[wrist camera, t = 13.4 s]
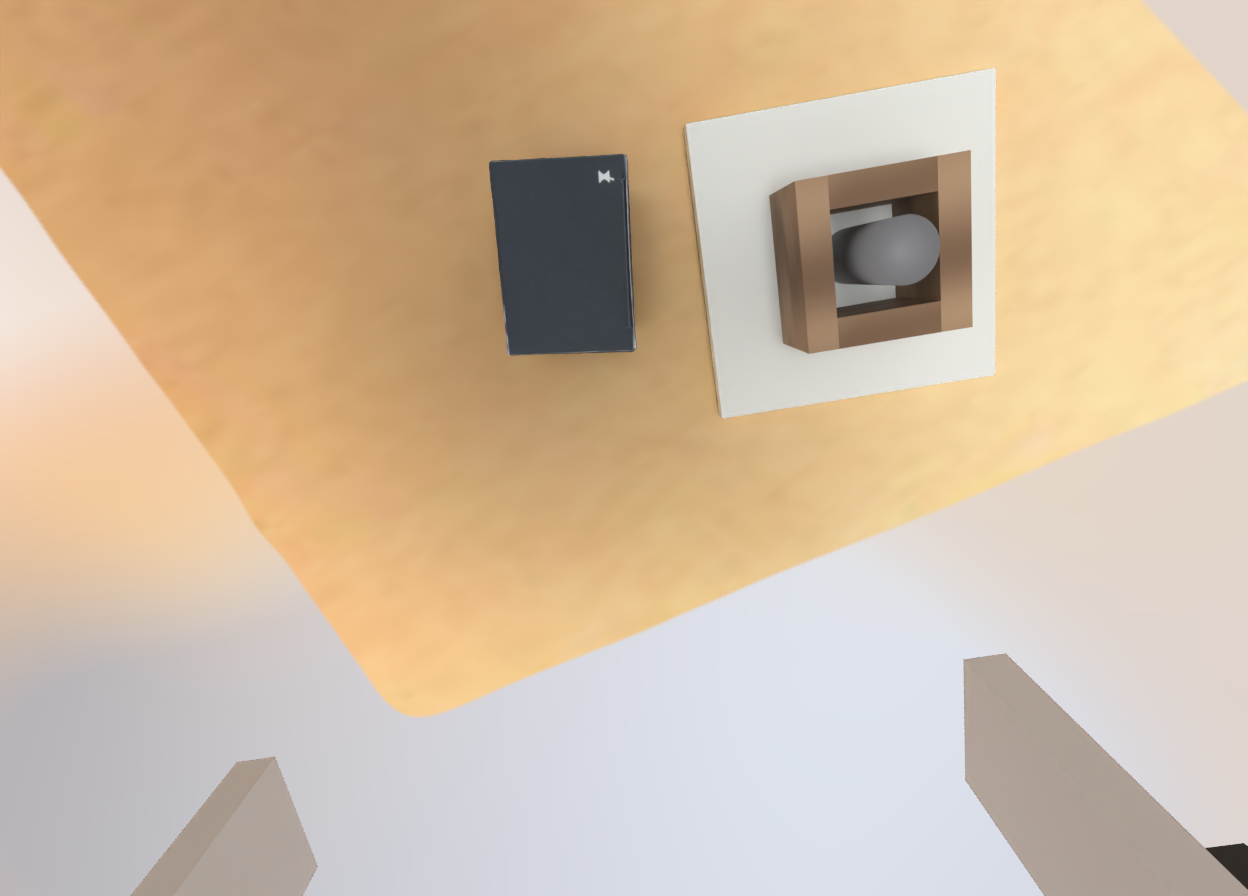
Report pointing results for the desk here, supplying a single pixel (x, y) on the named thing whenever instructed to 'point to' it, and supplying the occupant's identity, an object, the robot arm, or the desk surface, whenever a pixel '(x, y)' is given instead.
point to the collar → (918, 307)
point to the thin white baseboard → (838, 238)
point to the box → (565, 254)
